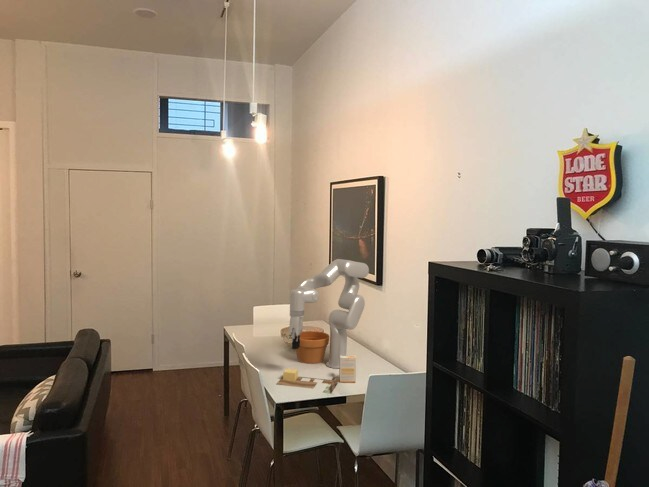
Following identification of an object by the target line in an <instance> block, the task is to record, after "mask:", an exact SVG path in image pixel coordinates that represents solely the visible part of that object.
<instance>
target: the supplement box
mask: <svg viewBox="0 0 649 487" xmlns="http://www.w3.org/2000/svg"><path fill="white" fill-rule="evenodd" d="M338 369H339V371H338V372H339V374H338V376H339V377H338V381H339V383H351V384H352V383H356V376H357V375H356V374H357V372H356V371H357V356H356V355H355V354H353V355H350V354H349V355H348V354H346V355H340V367H339V368H338Z"/></svg>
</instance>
